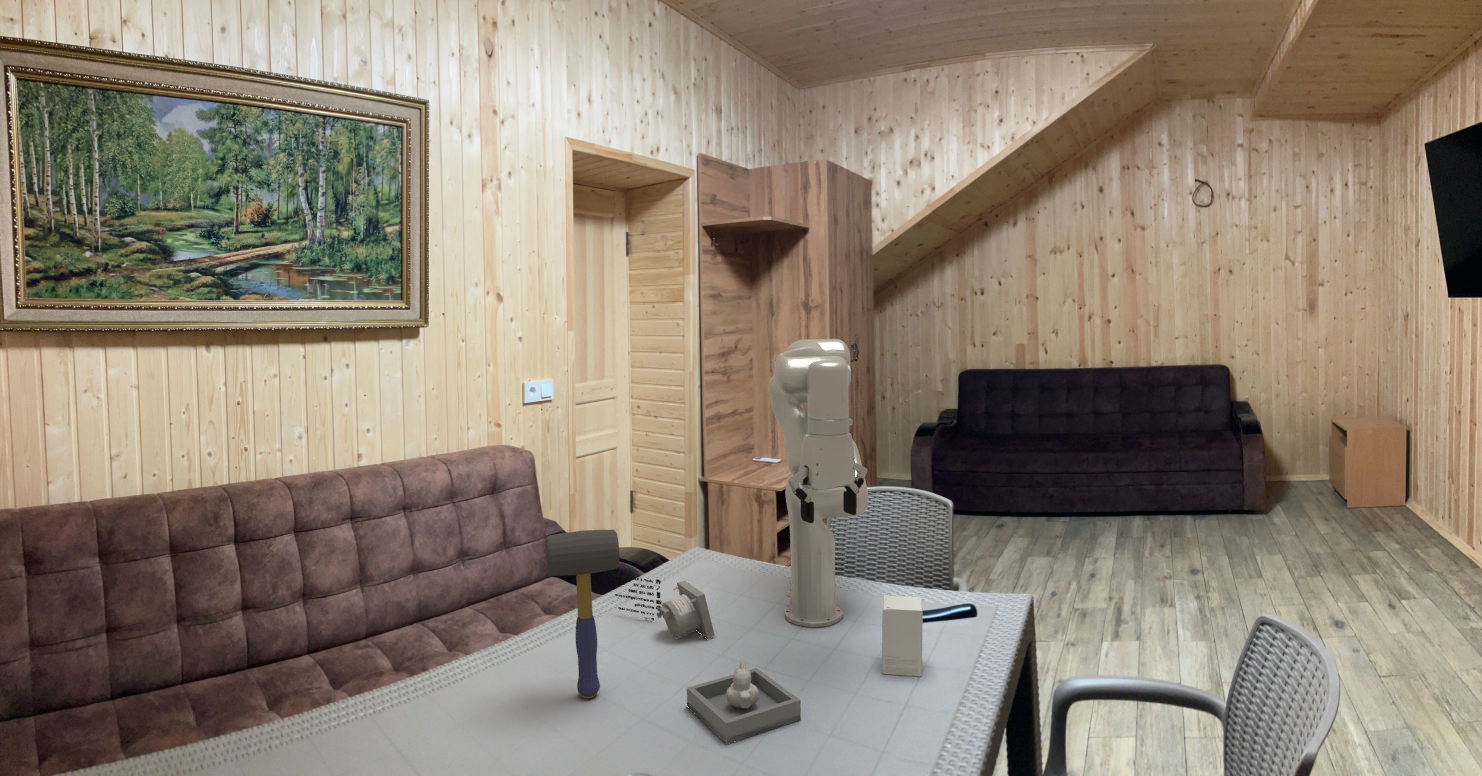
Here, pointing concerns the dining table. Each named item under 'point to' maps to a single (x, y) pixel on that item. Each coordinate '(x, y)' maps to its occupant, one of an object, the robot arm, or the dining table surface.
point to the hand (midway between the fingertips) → (829, 517)
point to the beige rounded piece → (742, 689)
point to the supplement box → (902, 635)
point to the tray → (743, 723)
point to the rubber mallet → (584, 589)
